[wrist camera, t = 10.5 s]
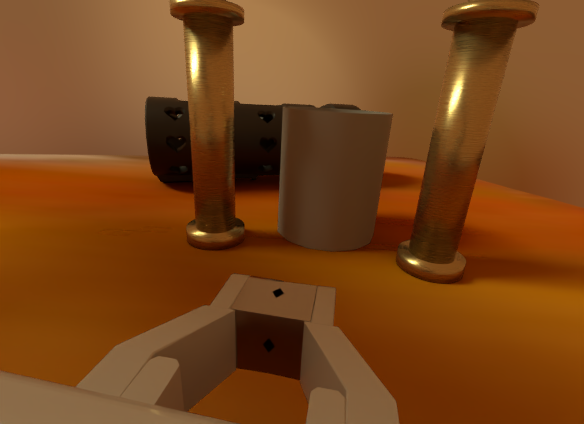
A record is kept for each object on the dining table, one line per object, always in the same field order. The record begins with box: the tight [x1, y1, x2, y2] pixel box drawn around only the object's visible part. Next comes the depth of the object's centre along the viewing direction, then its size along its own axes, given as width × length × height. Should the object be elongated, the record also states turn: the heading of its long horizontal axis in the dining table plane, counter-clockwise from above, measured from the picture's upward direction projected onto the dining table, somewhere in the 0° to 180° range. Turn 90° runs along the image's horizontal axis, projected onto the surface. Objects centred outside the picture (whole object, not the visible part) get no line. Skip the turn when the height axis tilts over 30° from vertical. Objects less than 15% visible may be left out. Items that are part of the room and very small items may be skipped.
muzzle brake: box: [145, 97, 366, 182], centre depth 40 cm, size 10×28×10 cm, turn 107°
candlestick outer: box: [396, 0, 539, 283], centre depth 18 cm, size 4×4×22 cm
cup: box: [278, 107, 393, 252], centre depth 25 cm, size 8×8×10 cm
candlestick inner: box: [170, 0, 244, 250], centre depth 21 cm, size 4×4×22 cm
